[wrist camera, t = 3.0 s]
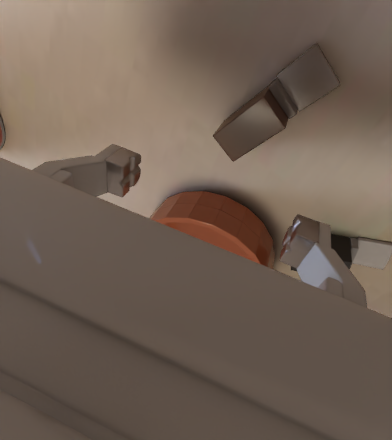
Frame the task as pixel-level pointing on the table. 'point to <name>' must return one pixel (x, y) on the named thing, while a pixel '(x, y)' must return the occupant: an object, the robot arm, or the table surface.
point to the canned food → (2, 133)
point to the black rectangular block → (361, 251)
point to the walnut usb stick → (277, 103)
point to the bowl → (218, 224)
